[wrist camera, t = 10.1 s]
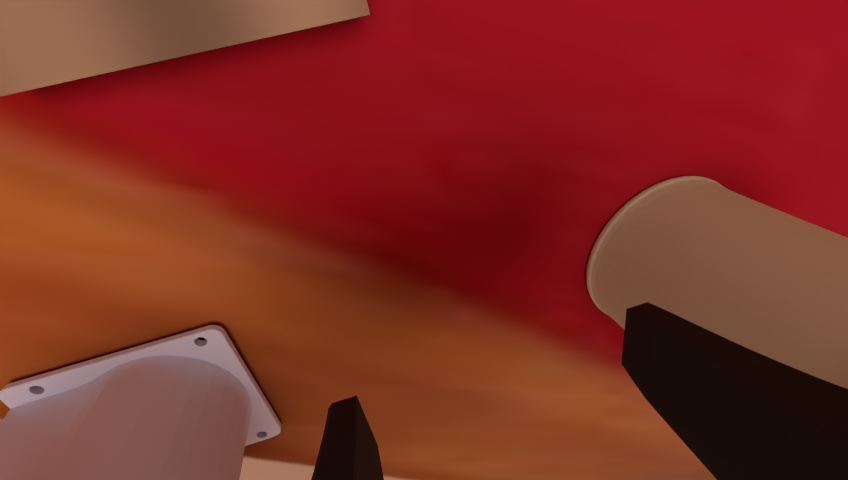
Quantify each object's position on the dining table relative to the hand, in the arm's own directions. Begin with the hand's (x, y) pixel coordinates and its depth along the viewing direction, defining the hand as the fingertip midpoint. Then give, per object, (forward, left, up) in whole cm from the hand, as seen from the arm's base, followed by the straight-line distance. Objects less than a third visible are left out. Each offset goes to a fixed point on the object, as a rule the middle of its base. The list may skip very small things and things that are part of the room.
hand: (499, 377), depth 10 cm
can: (+13, -6, -10) cm, 17 cm away
